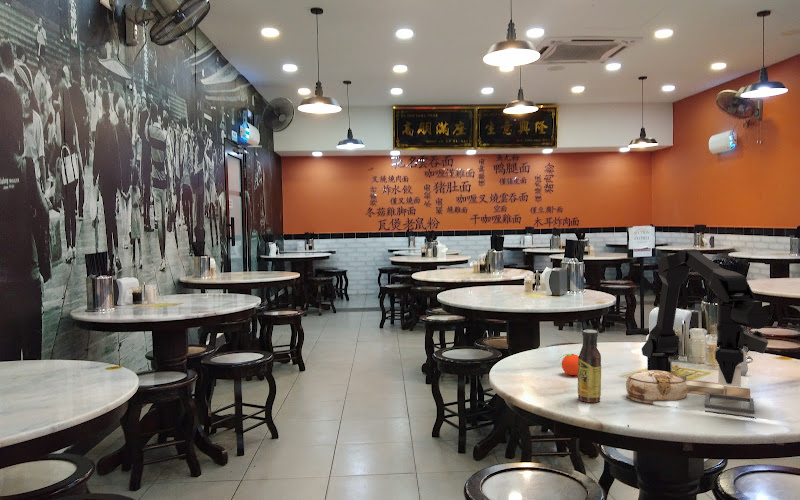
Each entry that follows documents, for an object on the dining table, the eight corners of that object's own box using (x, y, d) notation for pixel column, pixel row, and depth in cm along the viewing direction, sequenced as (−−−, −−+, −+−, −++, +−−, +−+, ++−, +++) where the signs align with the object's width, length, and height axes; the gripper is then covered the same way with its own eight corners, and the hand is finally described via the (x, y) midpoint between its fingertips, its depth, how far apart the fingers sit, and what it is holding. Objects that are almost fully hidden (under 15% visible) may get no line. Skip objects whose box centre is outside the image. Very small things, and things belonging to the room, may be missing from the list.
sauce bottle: (574, 397, 163) (573, 328, 162) (595, 396, 164) (594, 327, 163) (583, 404, 157) (582, 333, 156) (605, 403, 157) (605, 332, 156)
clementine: (557, 376, 185) (556, 355, 184) (559, 371, 191) (559, 350, 191) (582, 379, 182) (582, 356, 181) (584, 373, 188) (584, 352, 188)
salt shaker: (751, 378, 178) (751, 337, 177) (730, 377, 179) (731, 336, 179) (743, 373, 184) (744, 333, 183) (724, 372, 185) (724, 333, 184)
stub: (718, 384, 149) (718, 367, 149) (718, 378, 154) (719, 361, 154) (740, 386, 147) (740, 369, 146) (740, 381, 152) (740, 363, 151)
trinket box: (618, 397, 163) (618, 370, 162) (652, 388, 170) (652, 362, 170) (660, 410, 151) (660, 381, 151) (694, 400, 158) (695, 372, 158)
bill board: (676, 395, 162) (676, 383, 162) (680, 384, 173) (680, 373, 173) (750, 404, 153) (751, 392, 153) (749, 392, 164) (749, 380, 163)
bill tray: (704, 411, 149) (704, 404, 149) (706, 399, 158) (706, 392, 158) (754, 418, 143) (754, 410, 143) (753, 405, 153) (753, 398, 152)
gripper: (768, 330, 137) (767, 394, 138) (764, 318, 153) (763, 375, 154) (715, 327, 143) (714, 388, 144) (717, 315, 159) (716, 370, 160)
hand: (729, 380), depth 150 cm, fingers closed on stub, 6 cm apart
